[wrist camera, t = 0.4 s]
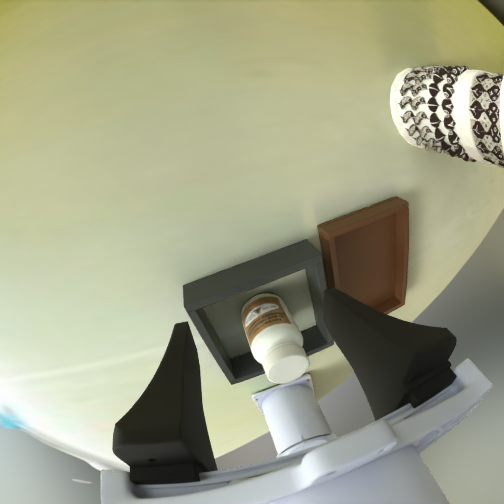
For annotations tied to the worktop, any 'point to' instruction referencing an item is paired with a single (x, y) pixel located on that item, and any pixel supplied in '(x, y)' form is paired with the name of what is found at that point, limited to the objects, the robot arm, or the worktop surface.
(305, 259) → the dark grey square frame
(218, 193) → the worktop surface
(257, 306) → the pill bottle
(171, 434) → the robot arm
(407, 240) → the tray
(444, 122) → the decorative candle
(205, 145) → the worktop surface
